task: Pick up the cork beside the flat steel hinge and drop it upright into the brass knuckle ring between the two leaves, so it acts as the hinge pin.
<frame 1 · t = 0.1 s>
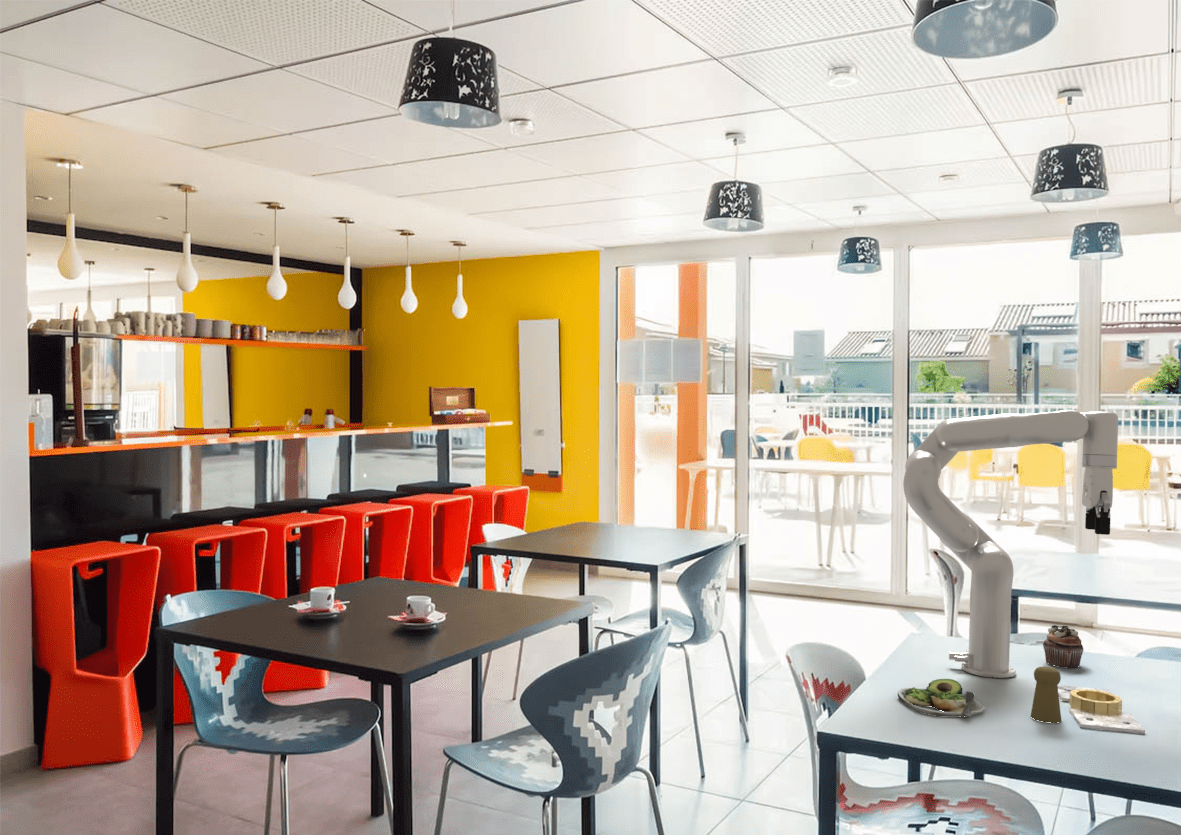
hand: (1097, 531, 237), 37 cm above the table, tool pointing down, fingers open, 9 cm apart
hinge: (1095, 709, 215), on the table
avocado toast plate: (940, 707, 216), on the table
cork: (1045, 719, 207), on the table
cupcake: (1062, 665, 253), on the table
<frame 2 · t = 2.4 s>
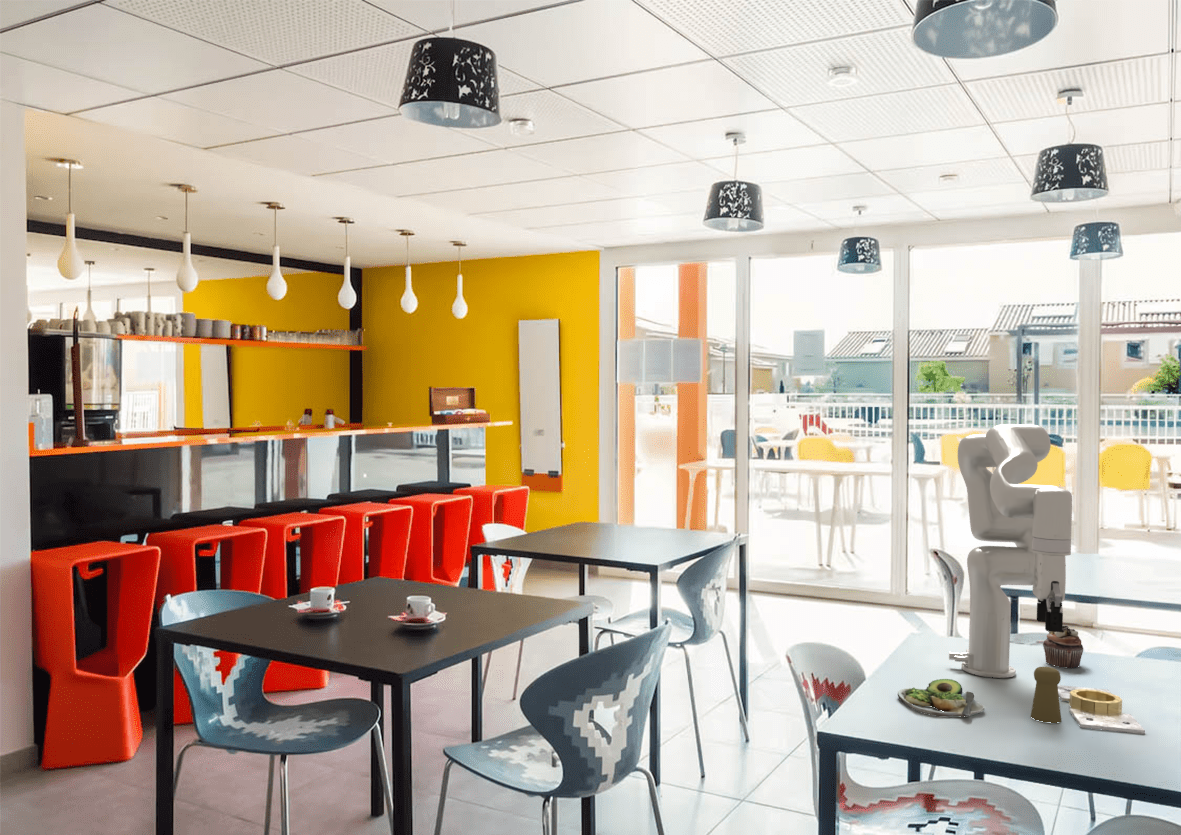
hand: (1049, 626, 207), 20 cm above the table, tool pointing down, fingers open, 9 cm apart
nothing on the table moved.
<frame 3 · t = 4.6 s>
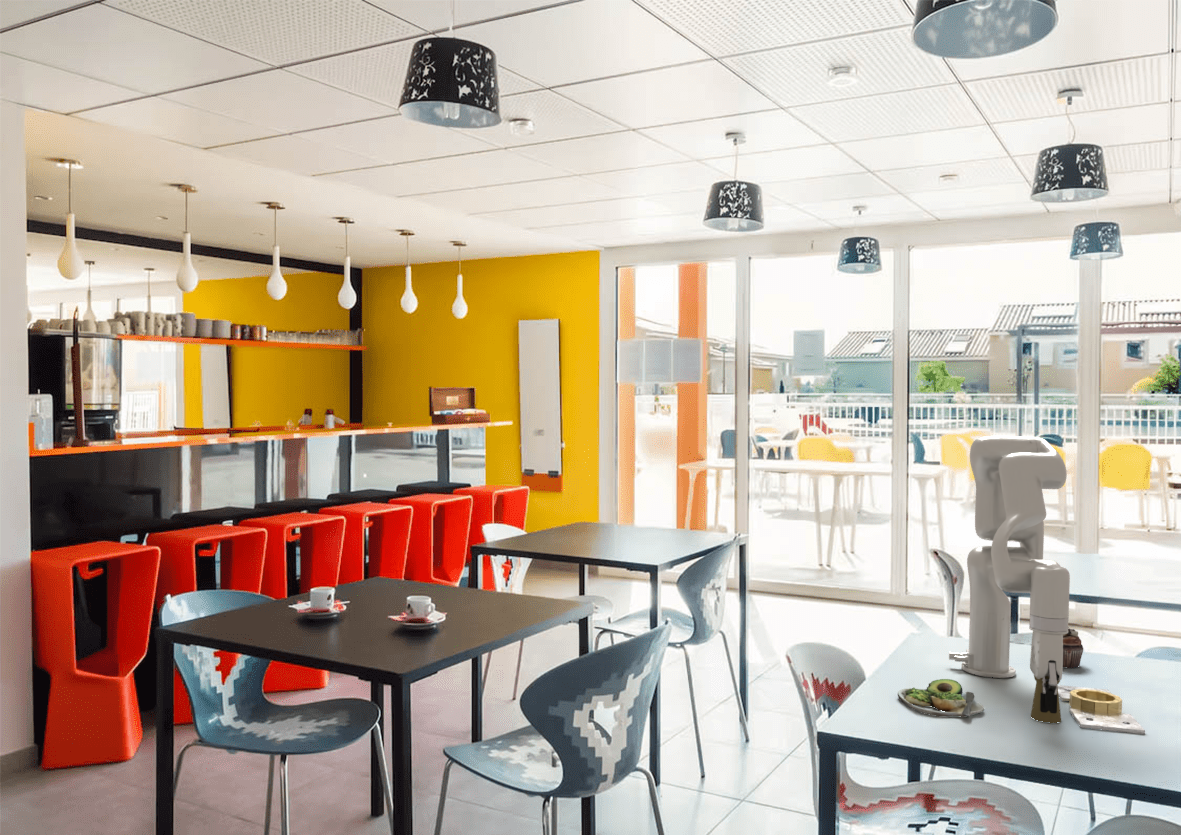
hand: (1046, 708, 207), 2 cm above the table, tool pointing down, fingers closed on cork, 4 cm apart
cork: (1045, 719, 207), on the table, touching gripper
everything else where it was.
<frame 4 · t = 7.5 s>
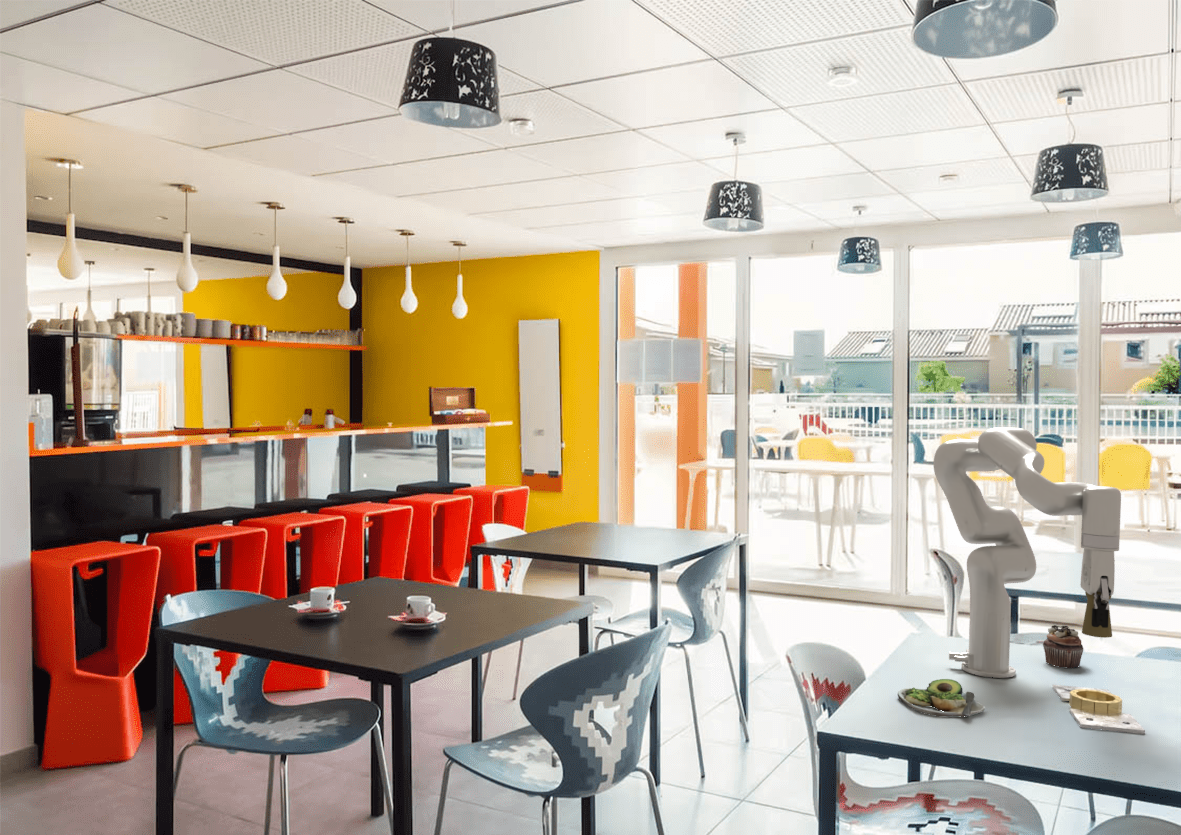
hand: (1097, 623, 215), 19 cm above the table, tool pointing down, fingers closed on cork, 4 cm apart
cork: (1096, 635, 215), point 17 cm above the table, touching gripper
everything else where it was.
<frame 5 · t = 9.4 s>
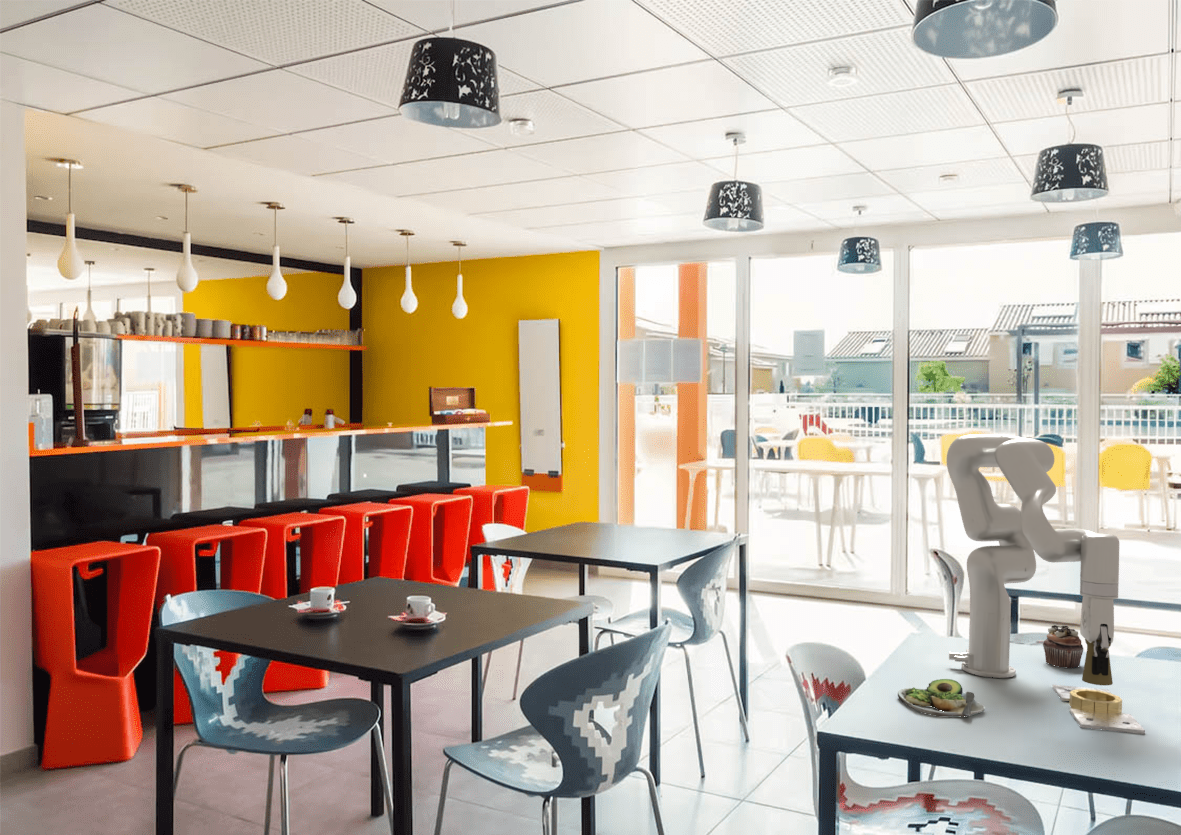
hand: (1097, 671, 214), 9 cm above the table, tool pointing down, fingers closed on cork, 4 cm apart
cork: (1097, 682, 214), point 6 cm above the table, touching gripper
everything else where it was.
when the fingers open (4 cm above the table, at t = 10.7 s): cork drops 1 cm, resting in hinge.
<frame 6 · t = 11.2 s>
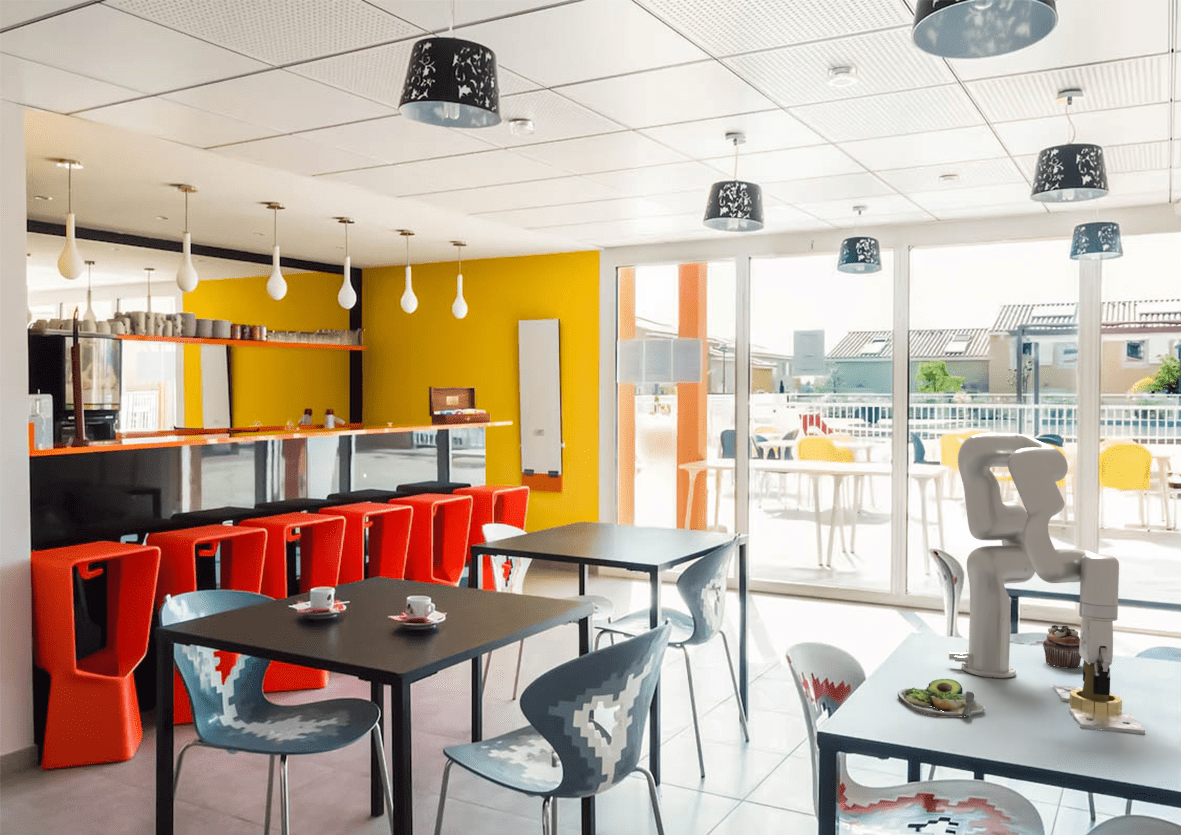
hand: (1095, 688, 215), 5 cm above the table, tool pointing down, fingers open, 9 cm apart
cork: (1094, 710, 215), resting in hinge
everything else where it was.
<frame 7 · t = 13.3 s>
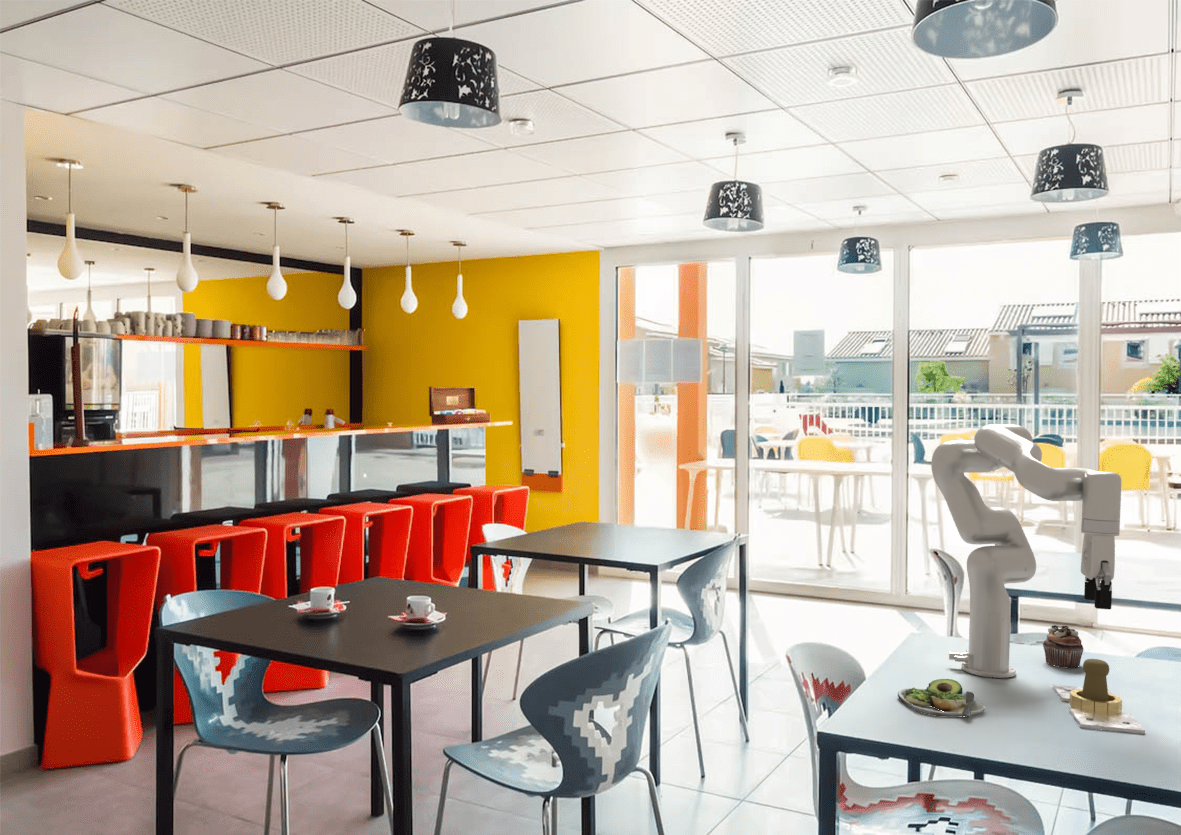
hand: (1097, 604, 215), 23 cm above the table, tool pointing down, fingers open, 9 cm apart
nothing on the table moved.
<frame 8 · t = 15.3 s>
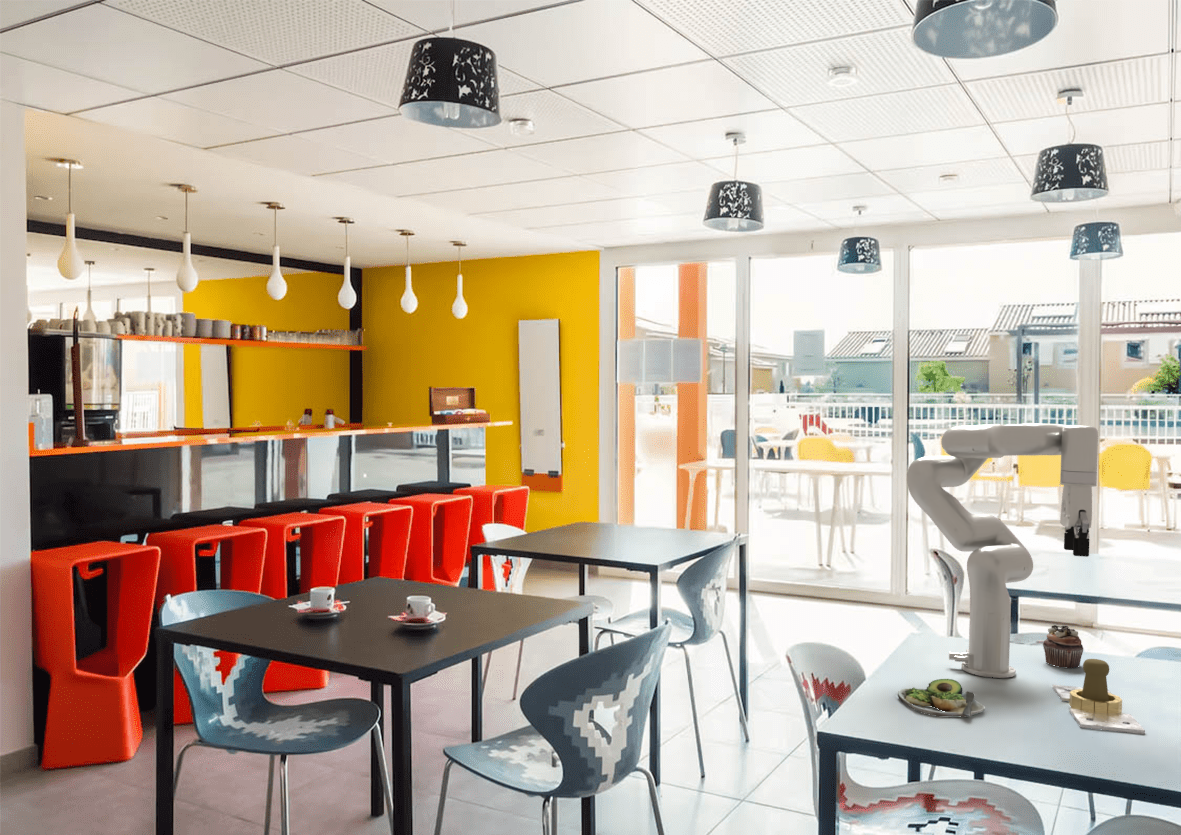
hand: (1076, 552, 224), 33 cm above the table, tool pointing down, fingers open, 9 cm apart
nothing on the table moved.
at the end: cork 0.2 cm off-centre on the hinge, point 0.0 cm above the hinge's base; cork tilted 0°; the gripper is holding nothing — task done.
